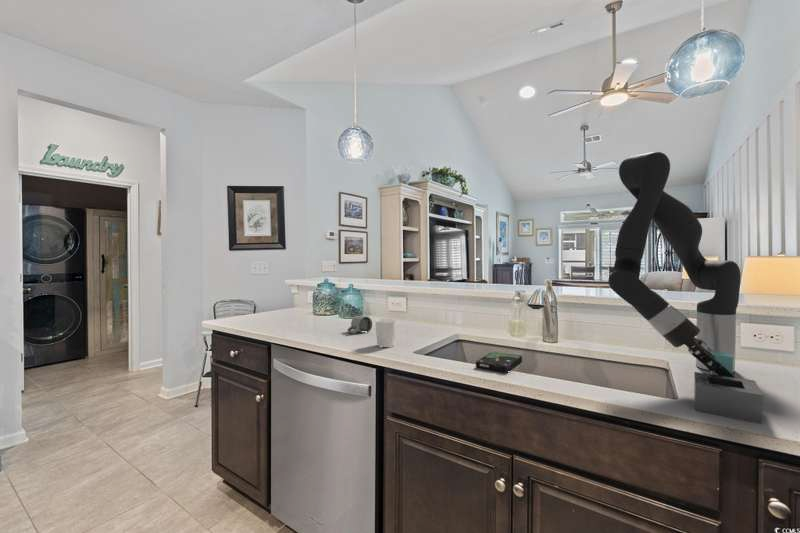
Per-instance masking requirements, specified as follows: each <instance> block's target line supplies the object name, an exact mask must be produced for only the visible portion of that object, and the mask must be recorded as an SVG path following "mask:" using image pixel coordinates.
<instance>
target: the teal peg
mask: <svg viewBox="0 0 800 533" xmlns="http://www.w3.org/2000/svg"><path fill="white" fill-rule="evenodd" d="M711 352H712V351H711ZM712 353H713V354H714V355H715V356H716V359H717V360H718V361H719V362H720V363H721V364H722V365H723V366H724V367H725V368H726V369H727V370H728V371H729V372H730V373H731V374H732V375H733V356H732V353H724V352H715V351H713V352H712ZM712 364H714V362H713V361H711V365H712ZM710 374H713V375H718V374H717V373H716V372H714V371H710Z"/></svg>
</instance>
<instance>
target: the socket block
mask: <svg viewBox="0 0 800 533" xmlns="http://www.w3.org/2000/svg"><path fill="white" fill-rule="evenodd" d="M693 376H694V378H693V379H694V380H693V382H694V384H693V399H694V401H693V402H694V411H696V412H701V413H707V414H712V415H717V416H722V417H726V418H732V419H737V420H743V421H747V422H753V423H758V424H763V405H764V404H763V402H764V401H763V398H764V396H763V393H762V390H761V388H760V387H759V385H758V384H757V382H756V380H753V379H747V378H740V377H739V378H738V377H736V378H733V377H726V376H719V375H713V374H711V373H705V372H699V371H694V375H693Z"/></svg>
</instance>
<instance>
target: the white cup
mask: <svg viewBox="0 0 800 533" xmlns="http://www.w3.org/2000/svg"><path fill="white" fill-rule="evenodd" d="M396 322H397V321H396V320H395V319H392V318H380V319H376V320H375V336H376V346H377V345H378V346H382V347H389V348H391V347H390V346H393V347H394V346H395V339H396ZM378 346H377V347H378ZM382 347H381V348H382Z"/></svg>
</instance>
